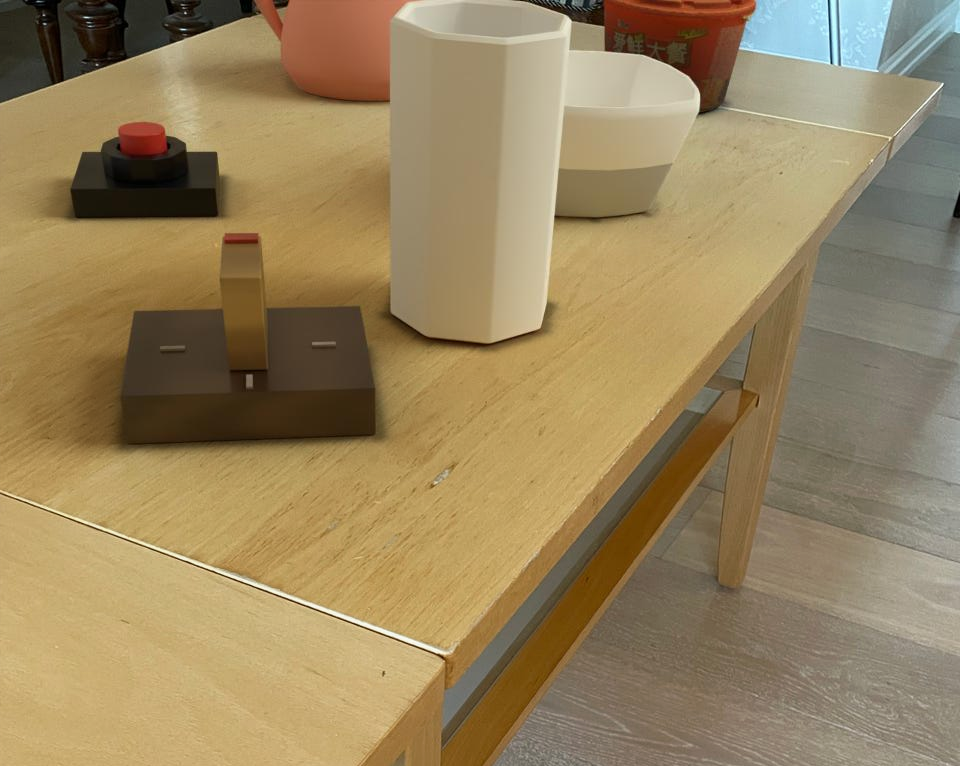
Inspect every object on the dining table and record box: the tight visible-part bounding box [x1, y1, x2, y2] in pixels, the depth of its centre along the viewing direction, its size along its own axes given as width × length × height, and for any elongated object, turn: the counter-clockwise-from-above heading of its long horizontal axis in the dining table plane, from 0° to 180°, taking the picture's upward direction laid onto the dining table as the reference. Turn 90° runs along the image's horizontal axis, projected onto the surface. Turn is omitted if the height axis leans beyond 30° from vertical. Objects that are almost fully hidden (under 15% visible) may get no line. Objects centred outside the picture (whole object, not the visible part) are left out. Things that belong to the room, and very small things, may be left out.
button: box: [117, 121, 167, 155], centre depth 92 cm, size 4×4×2 cm
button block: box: [69, 135, 221, 218], centre depth 93 cm, size 11×9×4 cm
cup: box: [389, 0, 573, 345], centre depth 75 cm, size 11×11×18 cm
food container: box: [603, 0, 757, 113], centre depth 120 cm, size 16×16×11 cm
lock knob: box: [219, 232, 268, 370], centre depth 66 cm, size 6×2×6 cm, turn 8°
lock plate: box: [119, 305, 377, 445], centre depth 69 cm, size 14×11×3 cm
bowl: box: [554, 49, 700, 218], centre depth 97 cm, size 18×18×9 cm
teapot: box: [253, 0, 422, 102], centre depth 119 cm, size 25×17×13 cm
